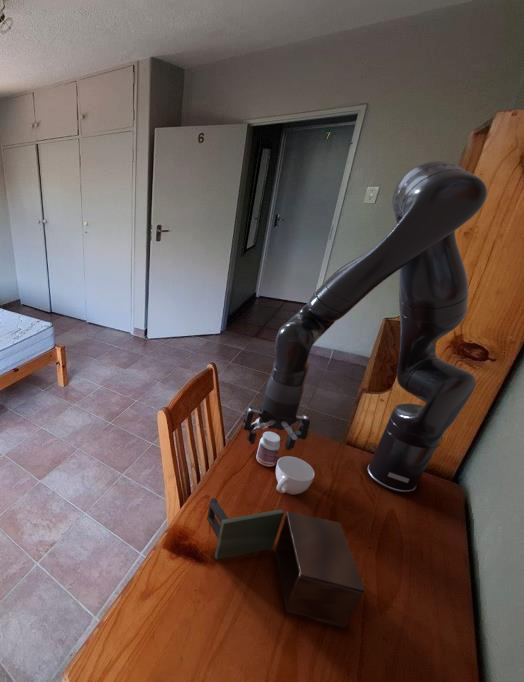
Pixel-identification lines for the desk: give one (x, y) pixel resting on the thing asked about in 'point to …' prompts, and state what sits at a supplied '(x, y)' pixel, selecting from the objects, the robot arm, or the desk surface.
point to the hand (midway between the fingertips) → (269, 445)
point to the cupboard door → (243, 531)
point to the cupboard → (317, 570)
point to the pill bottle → (268, 449)
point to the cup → (293, 475)
